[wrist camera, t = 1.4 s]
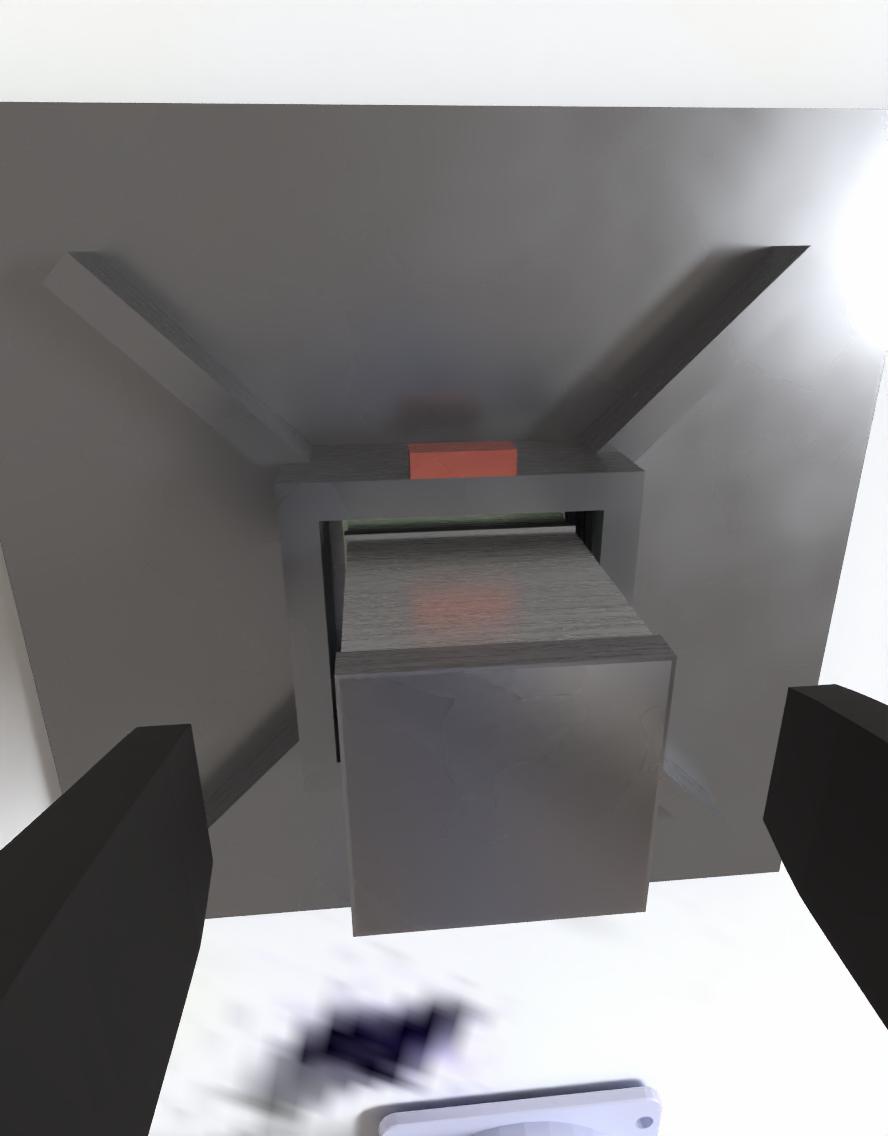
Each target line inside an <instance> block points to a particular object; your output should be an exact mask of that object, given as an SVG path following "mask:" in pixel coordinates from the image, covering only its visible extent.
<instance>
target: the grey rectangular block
mask: <svg viewBox="0 0 888 1136" xmlns="http://www.w3.org/2000/svg"><path fill="white" fill-rule="evenodd" d="M342 522H343V538H344V554H345V570H346V572H345V590H344V608H343V626H342V644H341V652H336V660H335V675H334V676H335V690H336V704H337V717H338V731H339V745H340V759H341V773H342V787H343V801H344V815H345V828H346V842H347V856H348V870H349V884H350V898H351V912H352V925H353V937H356V936H368V935H379V934H391V933H403V932H414V931H426V930H438V929H449V928H461V927H473V926H484V925H496V924H507V923H519V922H531V921H542V920H554V919H566V918H577V917H589V916H601V915H612V914H624V913H636V912H645V911H646V903H647V895H648V887H649V879H650V871H651V863H652V855H653V847H654V839H655V830H656V822H657V814H658V806H659V798H660V790H661V782H662V774H663V766H664V758H665V750H666V742H667V733H668V725H669V717H670V709H671V701H672V693H673V685H674V677H675V669H676V661H677V655H676V654H675V653H674V651H673V650H672V649H671V648H670V646H669V645H668V644H667V642H666V641H665V640H664V639H663V637H662V636H661V635H653V634H652V633H651V632H650V630H649V629H648V628H647V626H646V625H645V624H644V623H643V621H642V620H641V619H640V617H639V616H638V615H637V613H636V612H635V611H634V609H633V608H632V607H631V605H630V604H629V603H628V601H627V600H626V599H625V597H624V596H623V595H622V593H621V592H620V591H619V589H618V588H617V587H616V586H615V584H614V583H613V582H612V580H611V579H610V578H609V576H608V575H607V574H606V572H605V571H604V570H603V568H602V567H601V566H600V564H599V563H598V562H597V560H596V559H595V558H594V556H593V555H592V554H591V553H590V551H589V550H588V549H587V547H586V546H585V545H584V543H583V542H582V541H581V539H580V538H579V537H578V535H577V534H576V533H575V532H576V525H575V524H574V523H573V522H567V521H566V519H565V512H542V513H516V514H491V515H465V516H439V517H413V518H387V519H362V520H342Z"/></svg>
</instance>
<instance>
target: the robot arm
mask: <svg viewBox="0 0 888 1136" xmlns="http://www.w3.org/2000/svg"><path fill="white" fill-rule="evenodd" d="M763 821H764V823H765V826H766V828H767V830H768V832H769V834H770V836H771V838H772V841H773V843H774V845H775V847H776V849H777V851H778V853H779V856H780V858H781V860H782V862H783V864H784V866H785V868H786V870H787V872H788V874H789V876H790V878H791V880H792V881H793V883H794V885H795V887H796V889H797V891H798V893H799V895H800V897H801V898H802V900H803V901H804V903H805V905H806V906H807V908H808V909H809V911H810V913H811V914H812V916H813V917H814V919H815V920H816V922H817V923H818V925H819V926H820V928H821V930H822V931H823V933H824V934H825V936H826V937H827V939H828V940H829V942H830V943H831V945H832V946H833V948H834V950H835V951H836V953H837V954H838V956H839V957H840V959H841V960H842V962H843V963H844V965H845V966H846V968H847V969H848V971H849V972H850V974H851V975H852V977H853V978H854V980H855V981H856V983H857V984H858V986H859V987H860V989H861V990H862V992H863V993H864V995H865V996H866V998H867V999H868V1001H869V1002H870V1004H871V1005H872V1007H873V1008H874V1010H875V1011H876V1013H877V1014H878V1016H879V1017H880V1019H881V1020H882V1022H883V1023H884V1025H885V1026H886V1028H887V1029H888V705H886V704H883V703H881V702H879V701H877V700H874V699H872V698H870V697H867V696H865V695H863V694H860V693H858V692H855V691H853V690H850V689H847V688H844V687H842V686H839V685H836V684H832V685H815V686H799V687H788V692H787V697H786V702H785V707H784V712H783V718H782V723H781V728H780V733H779V738H778V743H777V748H776V754H775V759H774V764H773V769H772V774H771V779H770V785H769V790H768V795H767V800H766V805H765V810H764V815H763ZM212 867H213V857H212V850H211V844H210V838H209V832H208V826H207V819H206V813H205V807H204V801H203V795H202V788H201V782H200V776H199V770H198V763H197V757H196V751H195V745H194V739H193V732H192V726H191V724H176V725H160V726H143V727H136V728H135V729H134V730H133V731H132V732H130V733H129V734H128V735H127V736H126V737H124V738H123V739H122V740H121V741H120V742H119V743H118V744H117V745H116V746H115V747H113V748H112V749H111V750H110V751H109V752H108V753H107V754H106V755H105V756H104V757H103V758H102V759H100V760H99V761H98V762H97V763H96V764H95V765H94V766H93V767H92V768H91V769H90V770H89V771H88V772H87V773H85V774H84V775H83V776H82V777H81V778H80V779H79V780H78V781H77V782H76V783H75V784H74V785H73V786H71V787H70V788H69V789H68V790H67V791H66V792H65V793H64V794H63V795H62V796H61V797H59V798H58V799H57V800H56V801H55V802H54V803H53V804H52V805H51V806H49V807H48V808H47V809H46V810H45V811H44V812H43V813H42V814H41V815H40V816H38V817H37V818H36V819H35V820H34V821H33V822H32V823H31V824H30V825H28V826H27V827H26V828H25V829H24V830H23V831H22V832H21V833H20V834H18V835H17V836H16V837H15V838H14V839H13V840H12V841H11V842H10V843H8V844H7V845H6V846H5V847H4V848H3V849H2V850H0V1136H148V1134H149V1130H150V1126H151V1123H152V1119H153V1116H154V1112H155V1109H156V1105H157V1101H158V1098H159V1094H160V1091H161V1087H162V1084H163V1080H164V1076H165V1073H166V1069H167V1066H168V1062H169V1059H170V1055H171V1051H172V1048H173V1044H174V1041H175V1037H176V1034H177V1030H178V1027H179V1023H180V1019H181V1016H182V1012H183V1008H184V1005H185V1001H186V997H187V994H188V990H189V987H190V983H191V979H192V976H193V972H194V968H195V964H196V961H197V957H198V953H199V949H200V945H201V939H202V933H203V927H204V921H205V914H206V908H207V902H208V895H209V888H210V881H211V874H212ZM661 1114H662V1102H661V1099H660V1097H659V1094H658V1092H657V1091H656V1090H655V1089H653V1088H651V1087H646V1086H641V1087H632V1088H623V1089H613V1090H604V1091H594V1092H585V1093H576V1094H566V1095H557V1096H547V1097H538V1098H529V1099H519V1100H510V1101H500V1102H491V1103H482V1104H472V1105H463V1106H453V1107H444V1108H435V1109H425V1110H416V1111H406V1112H397V1113H392V1114H389V1115H388V1116H386V1117H384V1118H383V1119H382V1121H381V1122H380V1124H379V1136H658V1133H659V1126H660V1120H661Z"/></svg>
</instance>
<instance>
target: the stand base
mask: <svg viewBox="0 0 888 1136" xmlns="http://www.w3.org/2000/svg"><path fill="white" fill-rule="evenodd" d="M887 347H888V109H807V108H684V107H561V106H438V105H315V104H192V103H69V102H0V542H1V546H2V550H3V554H4V558H5V562H6V566H7V570H8V574H9V578H10V582H11V587H12V591H13V595H14V599H15V603H16V607H17V611H18V615H19V619H20V623H21V627H22V631H23V635H24V640H25V644H26V648H27V652H28V656H29V660H30V664H31V668H32V672H33V676H34V680H35V684H36V688H37V692H38V697H39V701H40V705H41V709H42V713H43V717H44V721H45V725H46V729H47V733H48V737H49V741H50V745H51V749H52V754H53V758H54V762H55V766H56V770H57V774H58V778H59V782H60V786H61V790H62V794H64V793H65V792H66V791H67V790H68V789H69V788H70V787H71V786H73V785H74V784H75V783H76V782H77V781H78V780H79V779H80V778H81V777H82V776H83V775H84V774H85V773H87V772H88V771H89V770H90V769H91V768H92V767H93V766H94V765H95V764H96V763H97V762H98V761H99V760H100V759H102V758H103V757H104V756H105V755H106V754H107V753H108V752H109V751H110V750H111V749H112V748H113V747H115V746H116V745H117V744H118V743H119V742H120V741H121V740H122V739H123V738H124V737H126V736H127V735H128V734H129V733H130V732H132V731H133V730H134V729H135V728H136V727H143V726H160V725H176V724H191V726H192V732H193V739H194V745H195V751H196V757H197V763H198V770H199V776H200V782H201V788H202V795H203V801H204V807H205V813H206V819H207V826H208V832H209V838H210V844H211V850H212V857H213V867H212V874H211V881H210V888H209V895H208V902H207V908H206V914H205V919H210V918H222V917H234V916H246V915H258V914H270V913H283V912H295V911H307V910H319V909H331V908H343V907H351V898H350V884H349V870H348V856H347V842H346V828H345V815H344V801H343V787H342V773H341V759H340V745H339V731H338V717H337V704H336V690H335V676H334V675H335V660H336V652H341V644H342V626H343V608H344V590H345V572H346V570H345V554H344V538H343V522H342V520H362V519H387V518H413V517H439V516H465V515H491V514H516V513H542V512H565V519H566V521H567V522H573V523H574V524H575V525H576V532H575V533H576V534H577V535H578V537H579V538H580V539H581V541H582V542H583V543H584V545H585V546H586V547H587V549H588V550H589V551H590V553H591V554H592V555H593V556H594V558H595V559H596V560H597V562H598V563H599V564H600V566H601V567H602V568H603V570H604V571H605V572H606V574H607V575H608V576H609V578H610V579H611V580H612V582H613V583H614V584H615V586H616V587H617V588H618V589H619V591H620V592H621V593H622V595H623V596H624V597H625V599H626V600H627V601H628V603H629V604H630V605H631V607H632V608H633V609H634V611H635V612H636V613H637V615H638V616H639V617H640V619H641V620H642V621H643V623H644V624H645V625H646V626H647V628H648V629H649V630H650V632H651V633H652V634H653V635H661V636H662V637H663V639H664V640H665V641H666V642H667V644H668V645H669V646H670V648H671V649H672V650H673V651H674V653H675V654H676V655H677V661H676V669H675V677H674V685H673V693H672V701H671V709H670V717H669V725H668V733H667V742H666V750H665V758H664V766H663V774H662V782H661V790H660V798H659V806H658V814H657V822H656V830H655V839H654V847H653V855H652V863H651V871H650V879H649V882H658V881H670V880H682V879H695V878H707V877H719V876H731V875H743V874H755V873H767V872H779V869H780V864H781V858H780V856H779V853H778V851H777V849H776V847H775V845H774V843H773V841H772V838H771V836H770V834H769V832H768V830H767V828H766V826H765V823H764V821H763V815H764V810H765V805H766V800H767V795H768V790H769V785H770V779H771V774H772V769H773V764H774V759H775V754H776V748H777V743H778V738H779V733H780V728H781V723H782V718H783V712H784V707H785V702H786V697H787V692H788V687H799V686H815V685H818V681H819V676H820V671H821V666H822V661H823V656H824V652H825V647H826V642H827V637H828V632H829V627H830V623H831V618H832V613H833V608H834V603H835V598H836V594H837V589H838V584H839V579H840V574H841V569H842V565H843V560H844V555H845V550H846V545H847V541H848V536H849V531H850V526H851V521H852V516H853V512H854V507H855V502H856V497H857V492H858V487H859V483H860V478H861V473H862V468H863V463H864V458H865V454H866V449H867V444H868V439H869V434H870V429H871V425H872V420H873V415H874V410H875V405H876V400H877V396H878V391H879V386H880V381H881V376H882V372H883V367H884V362H885V357H886V352H887Z"/></svg>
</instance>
